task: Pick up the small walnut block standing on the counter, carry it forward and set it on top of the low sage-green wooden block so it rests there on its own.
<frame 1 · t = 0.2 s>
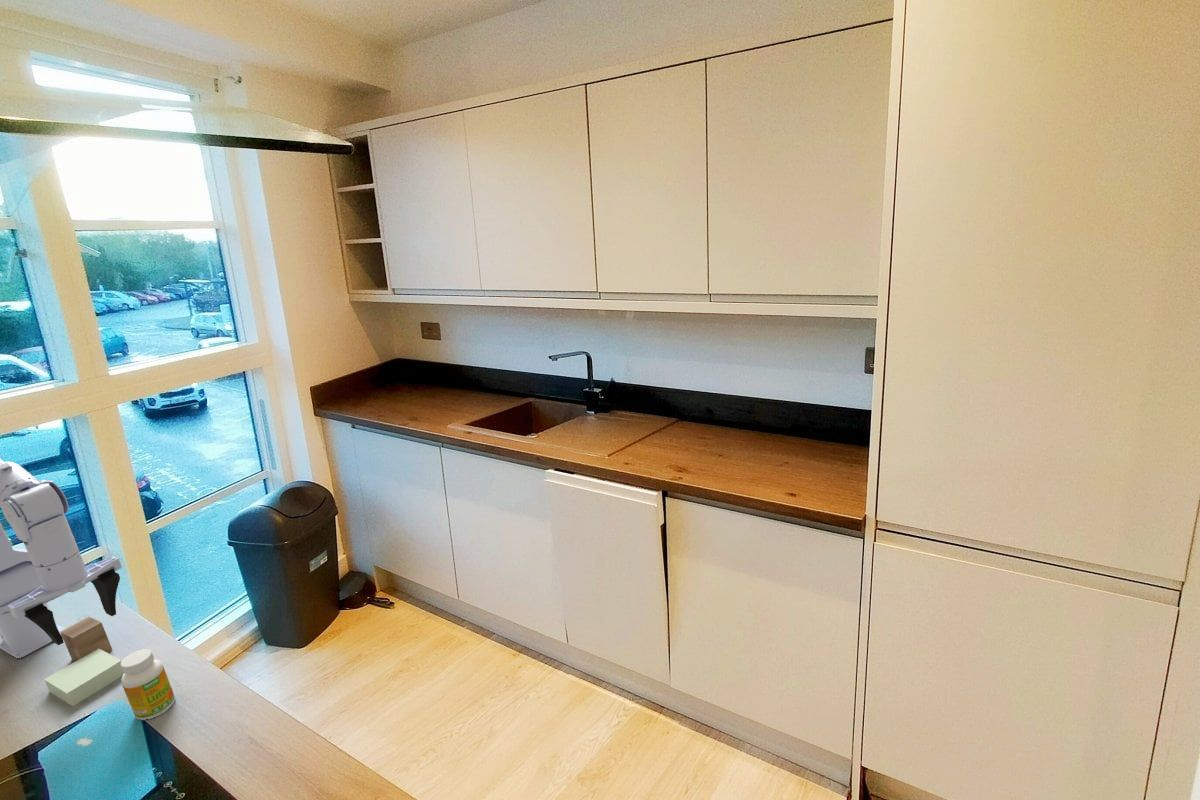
hand: (85, 627, 104), 10 cm above the counter, tool pointing down, fingers open, 7 cm apart
supplement bottle: (156, 708, 99), on the counter
sage block: (89, 684, 106), on the counter
walnut block: (92, 654, 113), on the counter
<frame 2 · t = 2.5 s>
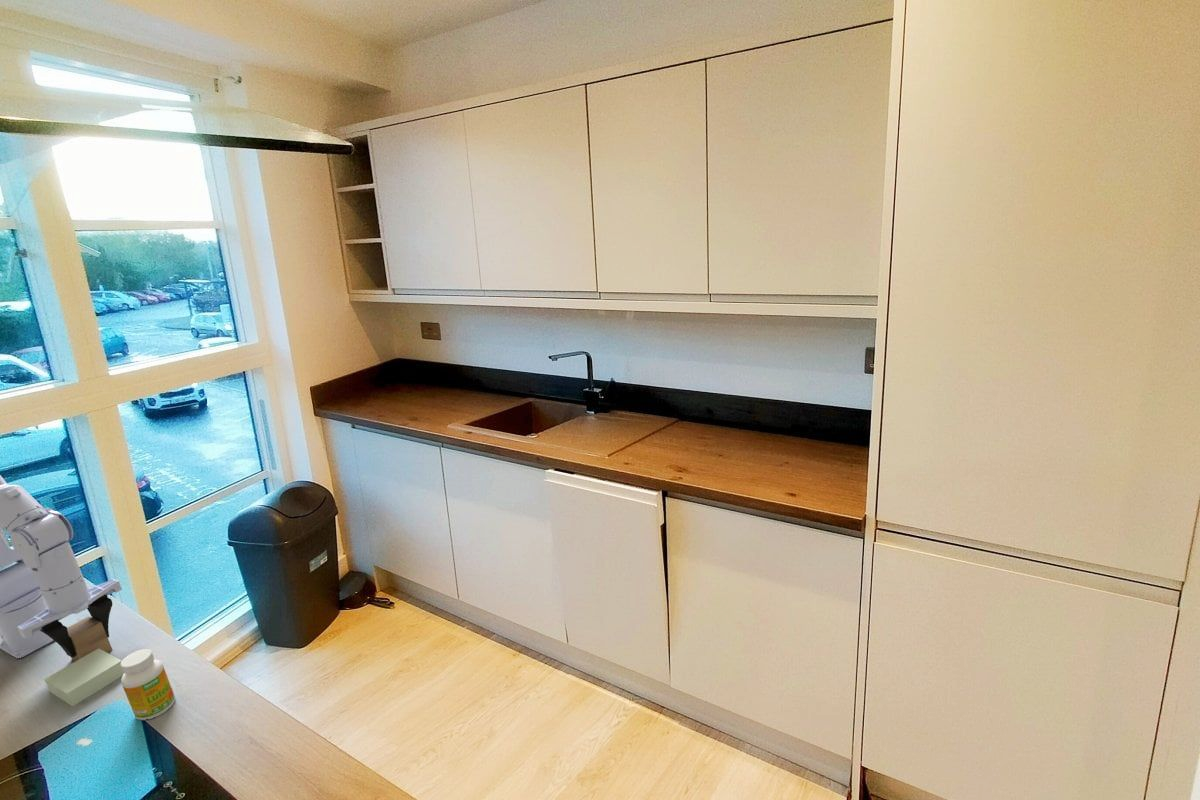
hand: (88, 645, 112), 2 cm above the counter, tool pointing down, fingers closed on walnut block, 4 cm apart
walnut block: (92, 654, 113), on the counter, touching gripper
everything else where it was.
when the fingers open (6 cm above the counter, at t = 6.8 s): walnut block drops 1 cm, resting on sage block.
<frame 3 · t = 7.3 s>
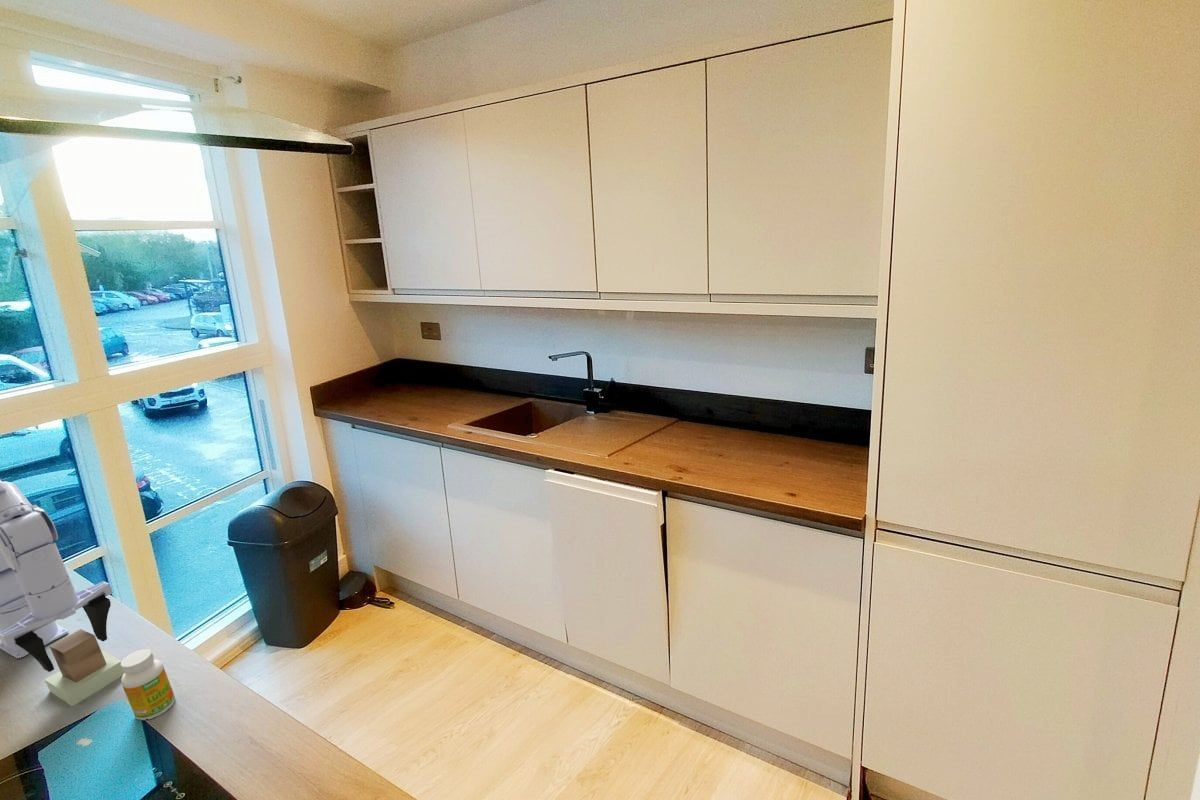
hand: (76, 653, 104), 6 cm above the counter, tool pointing down, fingers open, 7 cm apart
sage block: (89, 684, 106), on the counter, touching walnut block
walnut block: (84, 669, 105), point 2 cm above the counter, touching sage block
everything else where it was.
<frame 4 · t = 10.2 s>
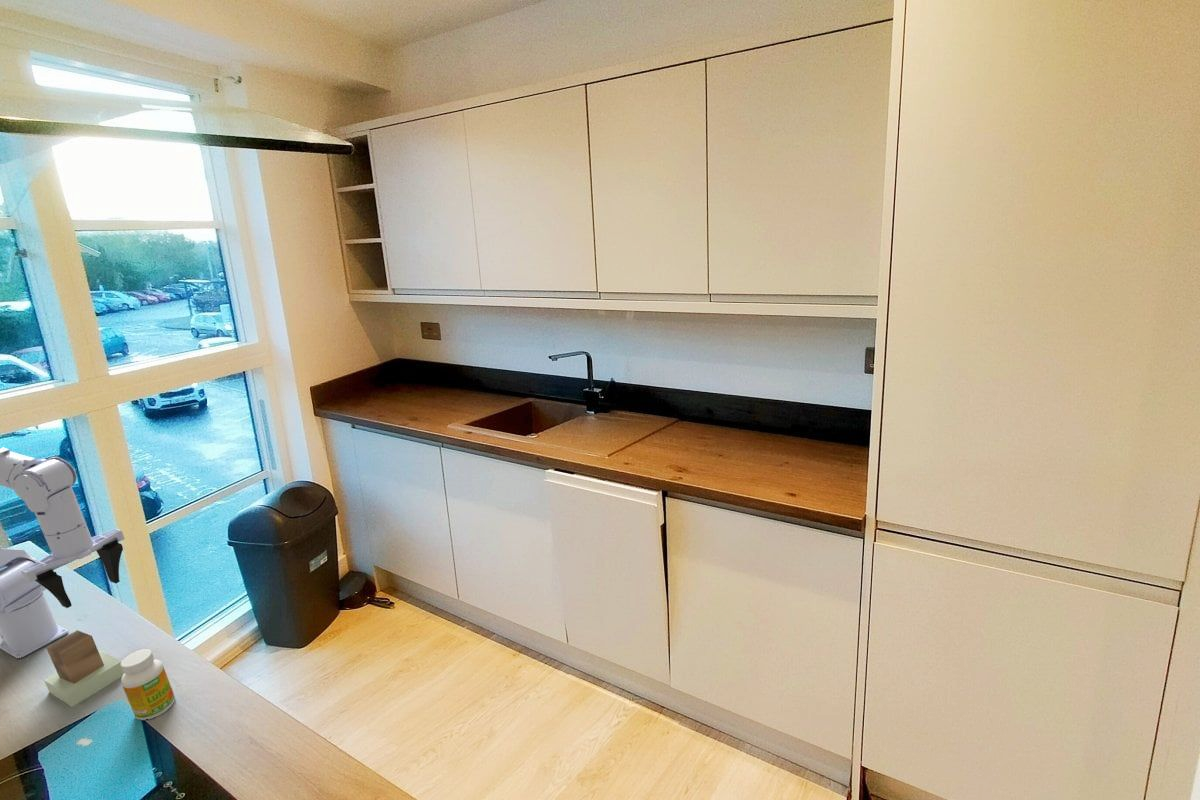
hand: (91, 593, 113), 10 cm above the counter, tool pointing down, fingers open, 7 cm apart
nothing on the counter moved.
at the end: walnut block 0.2 cm off-centre on the sage block, point 3.0 cm above the sage block's base; walnut block tilted 0°; the gripper is holding nothing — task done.
